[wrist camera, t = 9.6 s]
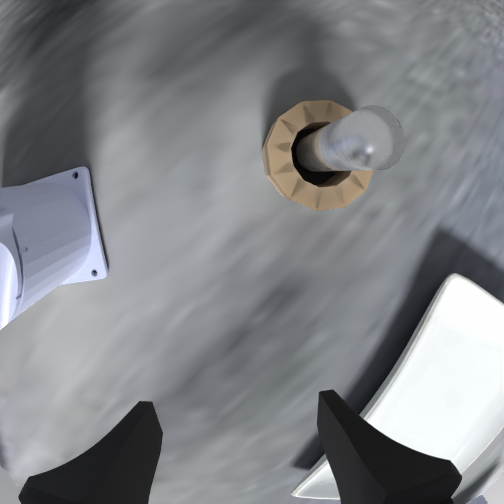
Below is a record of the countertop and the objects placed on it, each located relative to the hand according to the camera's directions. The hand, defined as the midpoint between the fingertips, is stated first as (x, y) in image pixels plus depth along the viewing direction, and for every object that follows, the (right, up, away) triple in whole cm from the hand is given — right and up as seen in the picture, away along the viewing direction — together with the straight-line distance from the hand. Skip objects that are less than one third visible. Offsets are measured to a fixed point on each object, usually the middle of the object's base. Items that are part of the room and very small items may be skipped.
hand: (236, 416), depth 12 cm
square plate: (+22, -10, +15) cm, 29 cm away
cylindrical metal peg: (+5, +13, +8) cm, 16 cm away
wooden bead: (+5, +13, +8) cm, 16 cm away
